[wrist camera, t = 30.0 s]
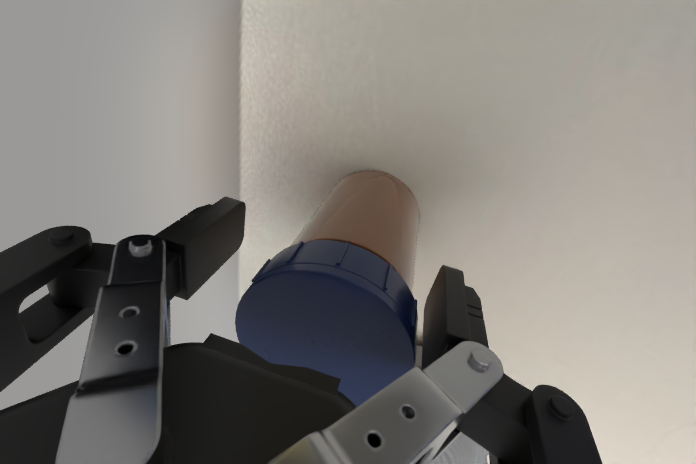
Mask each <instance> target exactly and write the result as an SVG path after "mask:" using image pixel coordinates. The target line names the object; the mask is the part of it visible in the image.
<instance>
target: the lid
mask: <svg viewBox="0 0 696 464" xmlns="http://www.w3.org/2000/svg"><path fill="white" fill-rule="evenodd" d="M392 267H393V266H392V265H391V264H390V265H389V264H388V263H387V262H385V261H384V260H383V259H381V258H380V257H378V256H376V255H375V254H373V253H371V252H369V251H367V250H365V249H363V248H360V247H358V246H355V245H352V244H349V243H348V242H346V243H344V242H339V241H331V240H313V241H307V242H303V241H300V242H299V244H295V245H292V246H290V247H288V248H286V249H284V250H283V251H281V252H280V253H278V254H277V255H276V256H275V257H274V258H273V259H271V260H270V259H268V261H267V262H266V263H265V264H264V266H263V267H262V268H261V269H260V271H259V272H258V273H257V274H256V276H255V277H254V278H253V279H252V282H253V283H252V285H251V286H250V287H249V288H248V290H247V291H246V292H245V294H244V295H243V296H242V298H241V300H240V302H239V304H238V308H237V311H236V320H235V325H236V332H237V337H238V340H239V343H240V344H242V345H244V346H245V347H247V348H248V349H250V350H251V351H253V352H254V353H256V354H257V355H259V356H260V357H262V358H263V359H265V360H266V361H268V362H270V363H273V364H280V365H289V366H298V367H307V368H310V369H313V370H316V371H319V372H322V373H325V374H327V375H330V376H333V377H336V378H339V379H341V380H340V383H339V387H338V391H340V392H341V393H343V394H344V395H345V396H346V397H348V398H349V399H350V400H351V401H352V402H353V403H354V404H355V405H356V407H358V406H359V405H361V404H362V403H364V402H365V401H367V400H368V399H369V398H371V397H372V396H374V395H375V394H377V393H378V392H379V391H381V390H382V389H384V388H385V387H387V386H388V385H389V384H391V383H392V382H394V381H395V380H397V379H398V378H399V377H401V376H402V375H404V374H405V373H407V372H408V371H409V370H411V369H412V368H414V365H415V363H416V347H417V322H418V315H417V300H414V297H413V295H412V293H411V291H410V289H409V287H408V286H407V284H406V282H405V281H404V280H403V278H402V277H401V276H400V275H399V273H398V272H397V271H396V270H394V269H393V268H392Z"/></svg>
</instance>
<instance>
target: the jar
mask: <svg viewBox="0 0 696 464" xmlns="http://www.w3.org/2000/svg"><path fill="white" fill-rule="evenodd" d="M418 229H419V208H418V204H417V202H416V199H415V197H414V195H413V194H412V192H411V191H410V190H409V188H408V187H407V186H406V185H405V184H404V183H402V182H401V181H400V180H398V179H397V178H395V177H393V176H391V175H389V174H386V173H383V172H378V171H361V172H356V173H353V174H351V175H348V176H347V177H345V178H343V179H342V180H341V181H339V182H338V183H337V184H336V185H335V187H334V188H333V189H332V191H331V192H330V193H329V195H328V196H327V197H326V199H325V200H324V201H323V203H322V204H321V206H320V207H319V208H318V210H317V211H316V212H315V214H314V215H313V216H312V218H311V219H310V220H309V222H308V223H307V224H306V226H305V227H304V228H303V230H302V231H301V232H300V234H299V235H298V236H297V238H296V239H295V240H294V242H293V243H292V245H295V244H299V242H300V241H303V242H307V241H313V240H331V241H339V242H344V243H346V242H348V243H349V244H352V245H355V246H358V247H360V248H363V249H365V250H367V251H369V252H371V253H373V254H375V255H376V256H378V257H380V258H381V259H383V260H384V261H385V262H387V263H388V264H389V265H390V264H391V265H392V266H393V267H392V268H393V269H394V270H396V271H397V272H398V273H399V275H400V276H401V277H402V278H403V280H404V281H405V282H406V284H407V286H408V287H409V289H410V291H411V293H413V282H414V272H415V261H416V250H417V239H418ZM292 245H291V246H292Z"/></svg>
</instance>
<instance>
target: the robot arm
mask: <svg viewBox="0 0 696 464" xmlns="http://www.w3.org/2000/svg"><path fill="white" fill-rule="evenodd" d="M245 210H246V206H245V203H244V202H242V201H239V200H235V199H232V198H229V197H224V198H222V199H221V200H219V201H218V202H216V203H215V204H213V205H210V204H208V205H205V206H202V207H199V208H196V209H194V210H193V211H191V212H190V213H188V215H185V216H184V217H182V218H181V219H180V220H178V221H176V222H175V223H173V224H172V225H170V226H169V227H167V228H166V229H164V230H162V231H161V232H159V233H158V234H156V235H155V236H153V235H134V236H130V237H127V238H125V239H122V240H121V241H119V242H118V243H117V244H116V245H111V244H102V243H92V239H91V235H90V232H89V231H88V230H86V229H85V228H82V227H78V226H60V227H54V228H50V229H47V230H44V231H42V232H40V233H38V234H36V235H34V236H32V237H30V238H28V239H26V240H24V241H22V242H20V243H18V244H16V245H14V246H13V247H10V248H8V249H6V250H4V251H3V252H0V392H1V391H2V390H3V389H5V388H6V387H7V386H8V385H9V384H11V383H12V382H13V381H14V380H15V379H17V378H18V377H19V376H20V375H21V374H22V373H24V372H25V371H26V370H27V369H28V368H30V367H31V366H32V365H33V364H34V363H35V362H37V361H38V360H39V359H40V358H41V357H43V356H44V355H45V354H46V353H47V352H49V351H50V350H51V349H52V348H53V347H54V346H56V345H57V344H58V343H59V342H60V341H62V340H63V339H64V338H65V337H66V336H68V335H69V334H70V333H71V332H72V331H73V330H74V329H76V328H77V327H78V326H79V325H81V324H82V323H83V322H84V321H85V320H86V319H88V318H89V317H90V316H91V315H92V314H94V315H93V320H92V325H91V329H90V334H89V339H88V343H87V347H86V352H85V356H84V361H83V365H82V370H81V374H80V379H79V380H78V381H76V382H73V383H70V384H68V385H65V386H62V387H60V388H58V389H55V390H52V391H49V392H47V393H45V394H42V395H39V396H36V397H34V398H32V399H29V400H26V401H24V402H21V403H18V404H16V405H13V406H10V407H8V408H5V409H3V410H0V464H432V463H433V462H434V461H435V460H436V459H437V458H438V457H439V456H440V455H441V454H442V453H443V452H444V451H445V450H446V449H447V448H448V447H449V445H450V444H451V443H452V442H453V441H454V440H455V439H456V438H457V437H458V436H459V435H460V434H461V433H463V434H464V435H466V436H467V437H469V438H470V439H472V440H473V441H474V442H476V443H477V444H479V445H480V446H482V447H483V448H484V449H486V450H487V451H489V458H490V464H602V461H601V458H600V455H599V453H598V450H597V447H596V444H595V441H594V438H593V435H592V432H591V430H590V427H589V424H588V421H587V418H586V416H585V414H584V412H583V411H582V409H581V408H580V407H579V405H578V404H577V403H576V402H575V401H574V400H573V399H572V398H571V397H570V396H568V395H567V394H566V393H564V392H563V391H561V390H559V389H557V388H555V387H553V386H549V385H538V386H537V387H535V388H534V390H533V391H531V390H529V389H527V388H526V387H524V386H522V385H521V384H519V383H517V382H516V381H514V380H512V379H511V378H509V377H508V376H507V375H506V374H504V373H503V372H504V370H503V366H502V363H501V361H500V360H499V358H498V357H497V356H496V355H495V354H494V353H493V352H492V351H491V350H490V349H489V346H488V341H487V335H486V329H485V324H484V320H483V312H482V306H481V301H480V298H479V296H478V295H477V293H476V292H475V290H474V289H473V288H471V287H468V286H465V283H464V275H463V271H461V270H458V269H454V268H451V267H448V266H445V265H442V267H441V268H440V270H439V272H438V275H437V277H436V279H435V281H434V284H433V286H432V288H431V290H430V292H429V295H428V297H427V300H426V303H425V308H424V323H423V344H422V364H421V368H420V367H419V366H416V367H414V368H412V369H411V370H409V371H408V372H407V373H405V374H404V375H402V376H401V377H399V378H398V379H397V380H395V381H394V382H392V383H391V384H389V385H388V386H387V387H385V388H384V389H382V390H381V391H379V392H378V393H377V394H375V395H374V396H372V397H371V398H369V399H368V400H367V401H365V402H364V403H362V404H361V405H359V406H358V407H356V405H355V404H354V403H353V402H352V401H351V400H350V399H349V398H348V397H346V396H345V395H344V394H343V393H341V392H340V391H338V387H339V383H340V380H341V379H339V378H336V377H333V376H330V375H327V374H325V373H322V372H319V371H316V370H313V369H310V368H307V367H298V366H289V365H280V364H273V363H270V362H268V361H266V360H265V359H263V358H262V357H260V356H259V355H257V354H256V353H254V352H253V351H251V350H250V349H248V348H247V347H245V346H244V345H242V344H240V343H237V342H234V341H231V340H228V339H225V338H223V337H220V336H217V335H214V334H212V333H211V334H210V335H209V337H208V338H207V339H206V340H205V341H204V343H182V344H176V345H171V344H170V300H171V299H172V298H173V297H174V296H177V297H180V298H183V299H185V300H188V299H189V298H190V297H191V296H192V295H193V294H194V293H195V292H196V291H197V290H198V289H199V288H200V287H201V286H202V285H203V284H204V283H205V282H206V281H207V280H208V279H209V278H210V277H211V276H212V275H213V274H214V273H215V272H216V271H217V270H218V269H219V268H220V267H221V266H222V265H223V264H224V263H225V262H226V261H227V260H228V259H229V258H230V257H231V256H232V255H233V254H234V253H235V252H236V251H237V250H238V249H239V247H240V246H241V243H242V241H243V237H244V225H245ZM46 284H47V287H48V290H49V294H47V295H46V296H44V297H43V298H41V299H40V300H39V301H37V302H35V303H34V304H33V305H31V306H30V307H28V308H27V309H25V310H24V311H22V312H21V313H19V307H20V305H21V303H22V302H23V300H24V299H25V298H26V297H27V296H29V295H30V294H32V293H33V292H35V291H36V290H38V289H39V288H41V287H43V286H44V285H46Z"/></svg>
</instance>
